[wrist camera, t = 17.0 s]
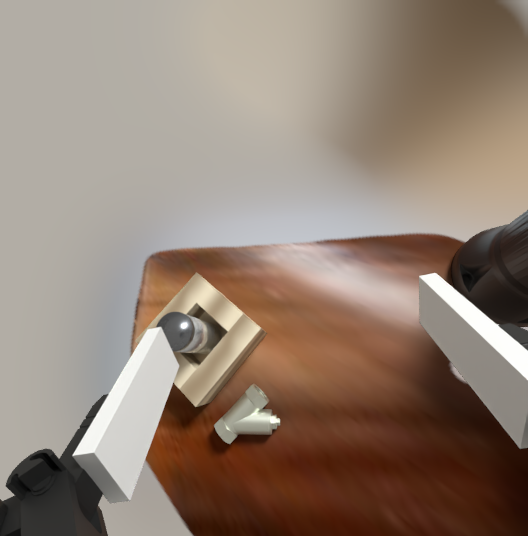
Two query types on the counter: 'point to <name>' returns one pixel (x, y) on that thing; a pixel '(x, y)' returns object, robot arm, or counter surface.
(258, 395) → the pipe fitting
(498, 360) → the robot arm
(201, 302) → the socket block
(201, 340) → the capped cylinder
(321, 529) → the counter surface
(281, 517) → the counter surface
